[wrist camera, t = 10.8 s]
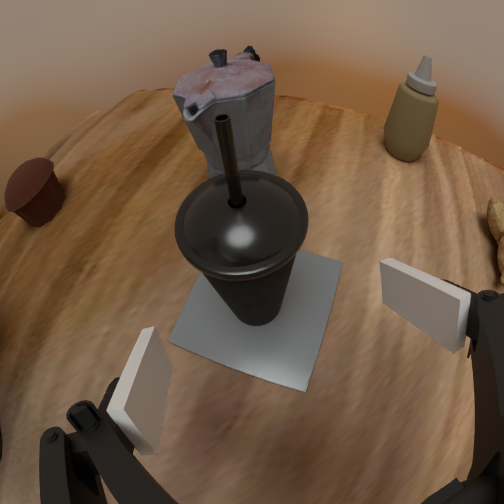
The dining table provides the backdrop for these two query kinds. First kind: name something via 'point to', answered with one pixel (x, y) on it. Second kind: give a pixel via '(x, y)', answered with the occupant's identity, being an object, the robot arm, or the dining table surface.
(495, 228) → the ginger root
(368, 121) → the dining table surface
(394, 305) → the robot arm
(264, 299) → the drinking cup
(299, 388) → the slate coaster
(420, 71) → the squeeze bottle
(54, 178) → the muffin
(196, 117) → the moka pot
